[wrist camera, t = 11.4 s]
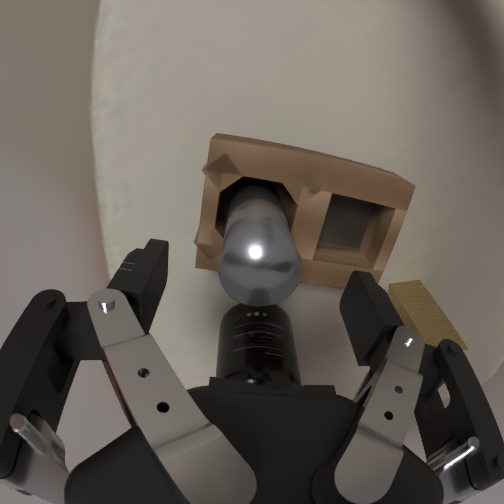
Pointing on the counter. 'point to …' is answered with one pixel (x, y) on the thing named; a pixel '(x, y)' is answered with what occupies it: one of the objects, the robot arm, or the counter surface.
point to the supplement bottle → (258, 347)
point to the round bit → (258, 247)
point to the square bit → (422, 313)
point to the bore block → (308, 206)
